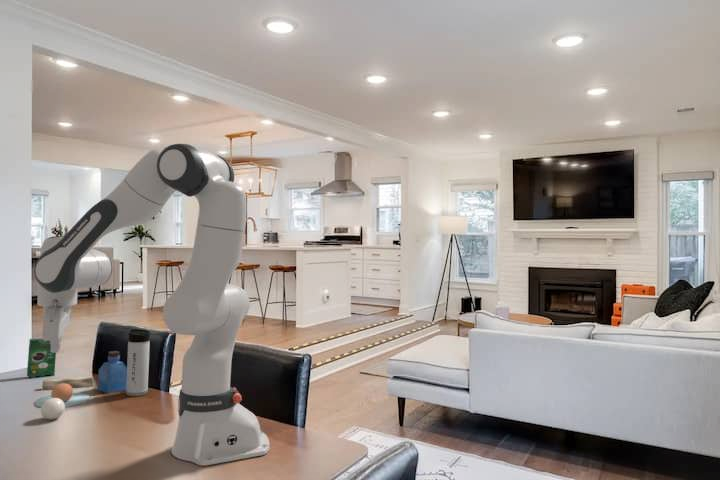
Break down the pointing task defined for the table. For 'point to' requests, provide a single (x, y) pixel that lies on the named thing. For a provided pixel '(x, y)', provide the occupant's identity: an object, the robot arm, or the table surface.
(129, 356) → the travel mug
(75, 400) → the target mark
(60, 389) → the object ball
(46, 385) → the rail
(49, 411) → the cue ball
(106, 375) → the perfume bottle
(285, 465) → the table surface
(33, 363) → the coffee box
